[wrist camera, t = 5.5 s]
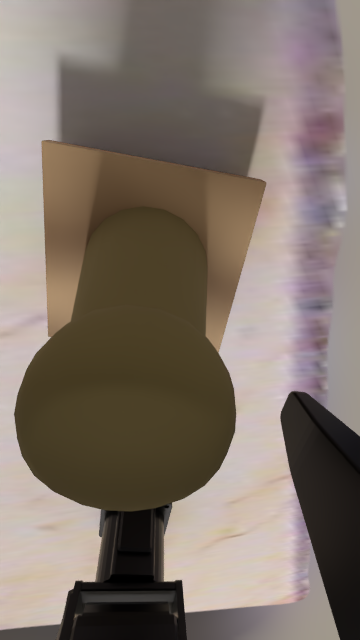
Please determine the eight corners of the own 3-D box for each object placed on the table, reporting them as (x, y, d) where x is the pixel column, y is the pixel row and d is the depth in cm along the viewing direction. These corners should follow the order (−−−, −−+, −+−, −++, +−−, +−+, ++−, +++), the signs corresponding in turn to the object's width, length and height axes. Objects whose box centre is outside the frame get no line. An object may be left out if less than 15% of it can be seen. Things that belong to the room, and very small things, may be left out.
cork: (187, 187, 14) (235, 305, 5) (220, 303, 17) (290, 517, 8) (61, 231, 15) (-113, 408, 6) (114, 335, 18) (60, 566, 9)
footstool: (211, 328, 22) (217, 356, 19) (62, 310, 20) (48, 336, 18) (250, 174, 17) (266, 182, 14) (61, 138, 16) (41, 140, 13)
